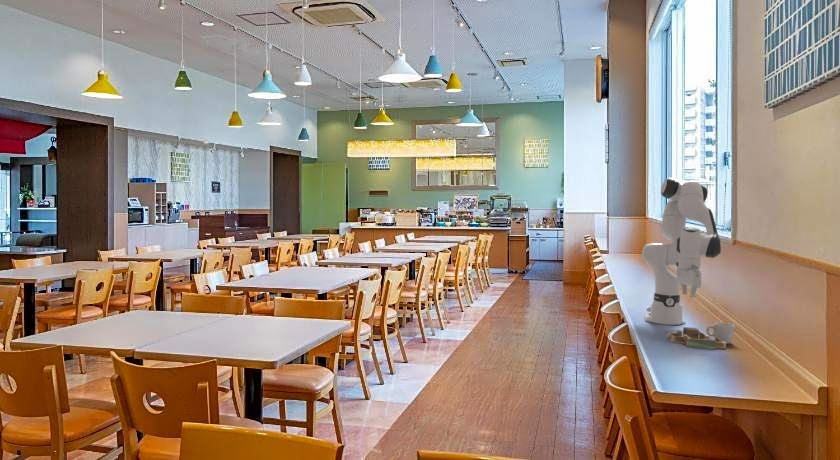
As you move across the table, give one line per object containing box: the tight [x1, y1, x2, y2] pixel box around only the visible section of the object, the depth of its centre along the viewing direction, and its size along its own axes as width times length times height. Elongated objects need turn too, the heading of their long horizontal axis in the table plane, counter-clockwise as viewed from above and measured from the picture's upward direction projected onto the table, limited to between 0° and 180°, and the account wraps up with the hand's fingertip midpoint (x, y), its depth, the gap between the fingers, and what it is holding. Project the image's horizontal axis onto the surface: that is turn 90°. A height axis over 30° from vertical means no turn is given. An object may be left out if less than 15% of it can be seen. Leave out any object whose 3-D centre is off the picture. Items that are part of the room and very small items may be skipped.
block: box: [682, 326, 700, 339], centre depth 279 cm, size 5×5×5 cm
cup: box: [706, 322, 736, 345], centre depth 276 cm, size 11×8×8 cm
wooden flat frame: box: [666, 329, 727, 350], centre depth 272 cm, size 18×19×4 cm
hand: (688, 295), depth 284 cm, fingers open, 8 cm apart
